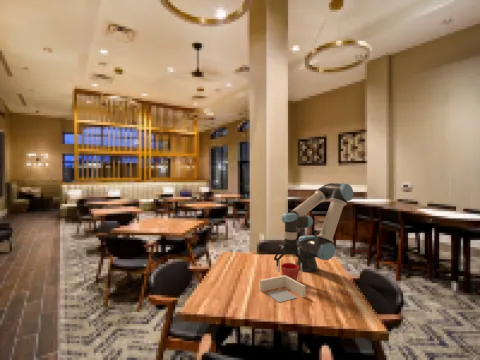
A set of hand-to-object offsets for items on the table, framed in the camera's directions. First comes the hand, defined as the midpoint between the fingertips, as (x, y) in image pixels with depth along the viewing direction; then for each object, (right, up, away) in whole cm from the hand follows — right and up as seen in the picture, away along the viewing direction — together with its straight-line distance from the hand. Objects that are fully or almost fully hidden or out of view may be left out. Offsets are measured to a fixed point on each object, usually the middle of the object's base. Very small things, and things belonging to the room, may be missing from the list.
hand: (289, 273), depth 162 cm
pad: (-8, -5, -20) cm, 22 cm away
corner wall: (-8, -5, -18) cm, 20 cm away
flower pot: (0, -5, 0) cm, 5 cm away
